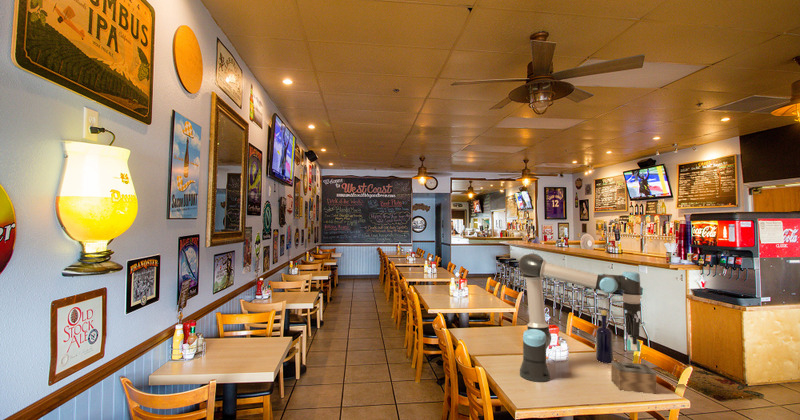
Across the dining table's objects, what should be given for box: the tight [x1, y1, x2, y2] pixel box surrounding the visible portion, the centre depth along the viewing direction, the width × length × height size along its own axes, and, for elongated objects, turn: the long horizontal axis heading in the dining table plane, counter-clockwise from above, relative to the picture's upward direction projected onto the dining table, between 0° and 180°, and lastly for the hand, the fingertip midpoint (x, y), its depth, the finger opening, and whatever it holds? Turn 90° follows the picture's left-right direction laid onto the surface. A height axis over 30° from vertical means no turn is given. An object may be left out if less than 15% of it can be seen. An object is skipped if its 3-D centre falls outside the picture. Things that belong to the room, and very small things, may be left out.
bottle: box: [595, 310, 614, 364], centre depth 222 cm, size 9×9×30 cm
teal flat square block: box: [626, 338, 641, 352], centre depth 185 cm, size 5×2×5 cm, turn 77°
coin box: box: [610, 360, 657, 395], centre depth 184 cm, size 16×12×10 cm
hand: (632, 349), depth 185 cm, fingers closed on teal flat square block, 2 cm apart
